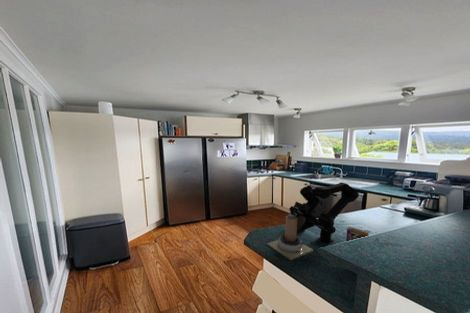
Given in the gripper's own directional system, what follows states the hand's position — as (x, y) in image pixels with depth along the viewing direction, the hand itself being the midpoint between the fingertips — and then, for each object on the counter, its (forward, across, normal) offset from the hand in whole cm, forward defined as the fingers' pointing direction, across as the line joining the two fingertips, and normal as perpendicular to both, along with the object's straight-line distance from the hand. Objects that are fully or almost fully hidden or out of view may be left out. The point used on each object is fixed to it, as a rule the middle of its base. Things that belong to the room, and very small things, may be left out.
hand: (294, 227), depth 113 cm
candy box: (-8, +20, +24) cm, 32 cm away
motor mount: (+9, 0, +6) cm, 11 cm away
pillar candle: (-5, -19, +22) cm, 29 cm away
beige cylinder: (+7, 0, +4) cm, 7 cm away
